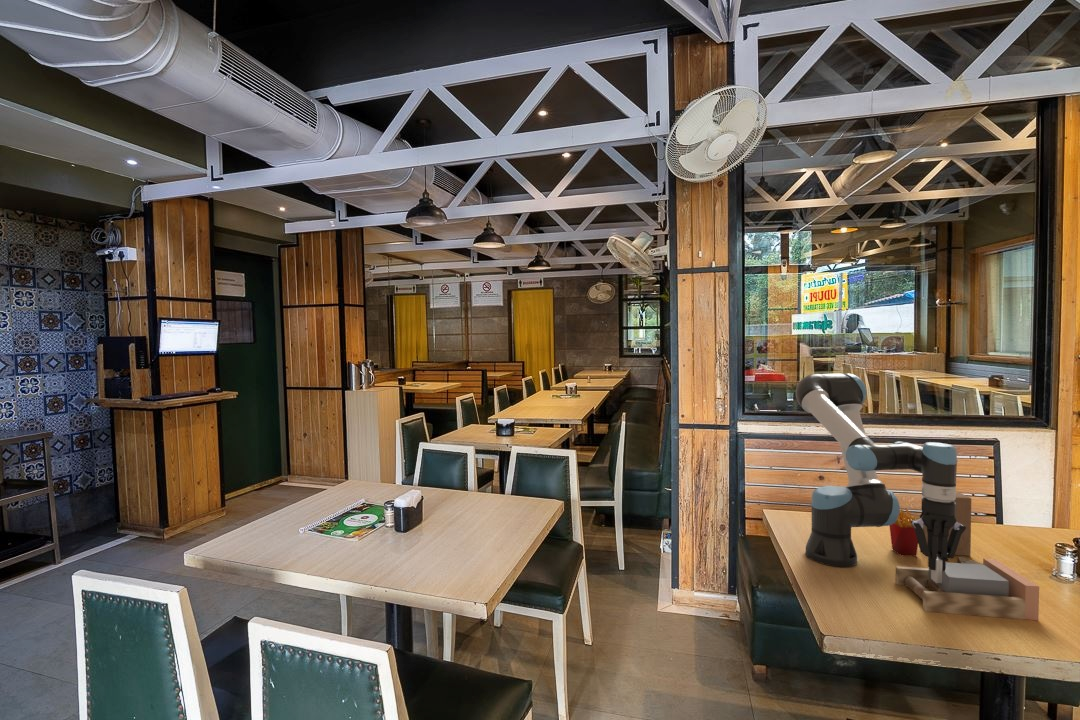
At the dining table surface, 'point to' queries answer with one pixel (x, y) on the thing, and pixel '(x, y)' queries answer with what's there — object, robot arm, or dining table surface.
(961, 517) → the wooden block
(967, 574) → the slab
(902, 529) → the french fries
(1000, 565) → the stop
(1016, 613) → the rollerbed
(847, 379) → the robot arm
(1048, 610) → the dining table surface
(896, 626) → the dining table surface
